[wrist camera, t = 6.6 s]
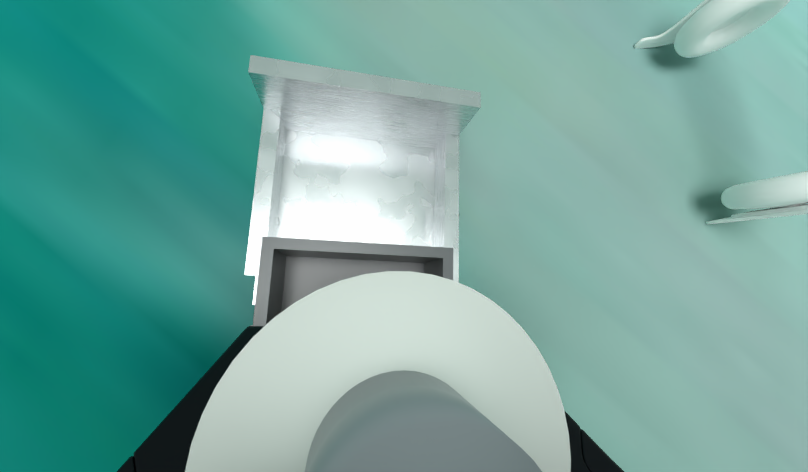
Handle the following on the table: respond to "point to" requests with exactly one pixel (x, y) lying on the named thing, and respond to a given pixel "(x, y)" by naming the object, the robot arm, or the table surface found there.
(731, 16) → the headset
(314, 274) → the grey and tan box
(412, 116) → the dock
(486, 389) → the bottle
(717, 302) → the table surface
